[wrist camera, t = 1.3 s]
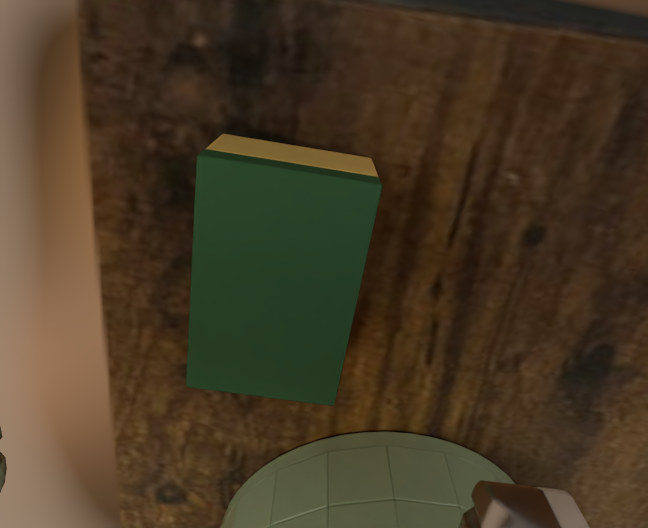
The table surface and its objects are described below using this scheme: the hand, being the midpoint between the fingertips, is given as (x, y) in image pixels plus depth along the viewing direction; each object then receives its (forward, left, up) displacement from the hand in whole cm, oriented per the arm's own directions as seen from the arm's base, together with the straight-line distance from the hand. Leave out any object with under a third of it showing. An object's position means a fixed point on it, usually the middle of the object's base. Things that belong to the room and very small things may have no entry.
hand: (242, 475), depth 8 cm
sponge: (-1, 0, -8) cm, 8 cm away
